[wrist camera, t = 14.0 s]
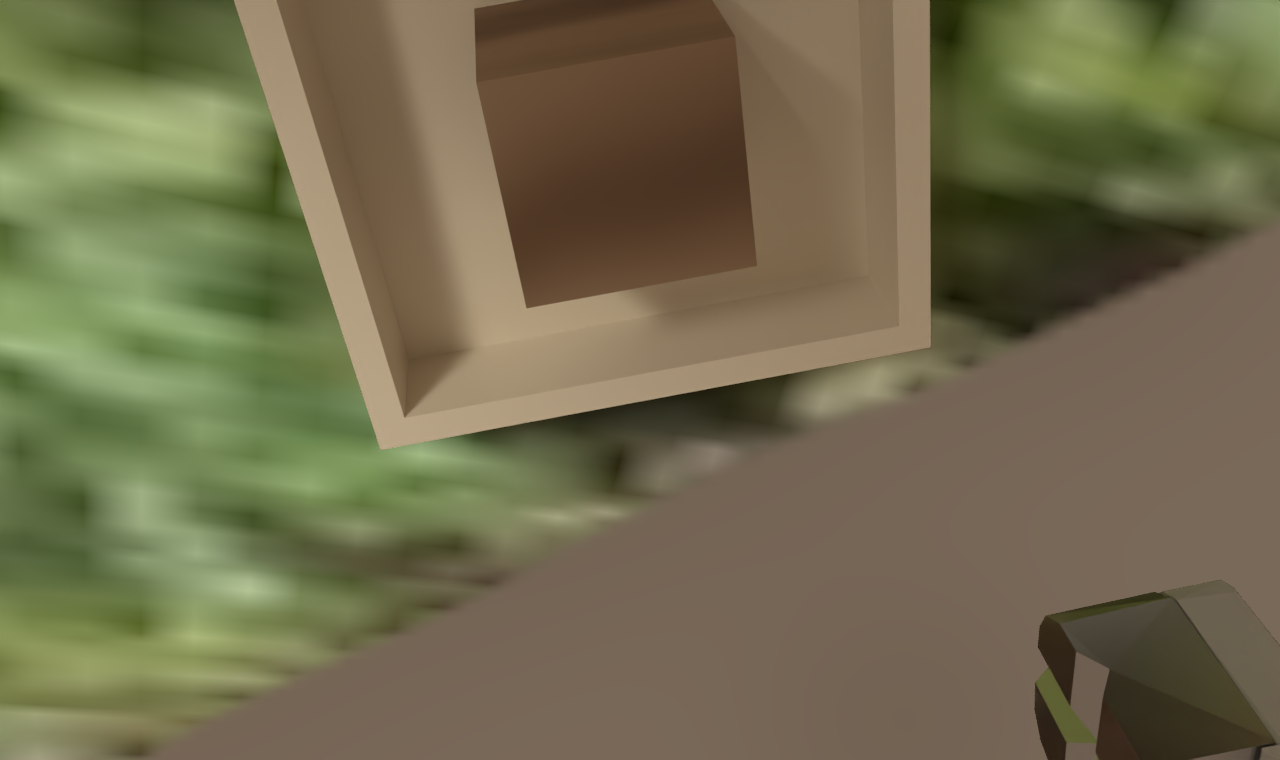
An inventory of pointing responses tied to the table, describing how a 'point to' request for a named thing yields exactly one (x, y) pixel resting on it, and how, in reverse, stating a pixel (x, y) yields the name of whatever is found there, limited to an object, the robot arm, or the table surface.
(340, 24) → the cream bin
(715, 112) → the walnut block
